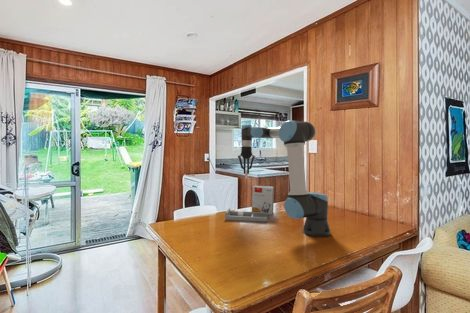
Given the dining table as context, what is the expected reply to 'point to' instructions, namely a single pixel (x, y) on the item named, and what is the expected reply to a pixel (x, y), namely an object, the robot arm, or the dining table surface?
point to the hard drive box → (262, 199)
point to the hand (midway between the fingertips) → (246, 178)
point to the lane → (246, 216)
